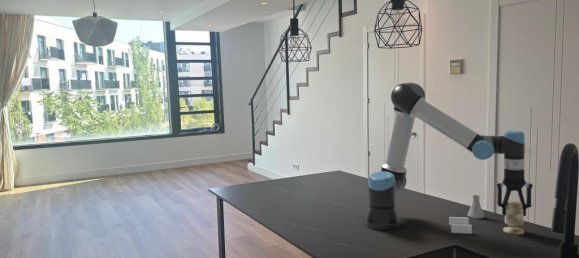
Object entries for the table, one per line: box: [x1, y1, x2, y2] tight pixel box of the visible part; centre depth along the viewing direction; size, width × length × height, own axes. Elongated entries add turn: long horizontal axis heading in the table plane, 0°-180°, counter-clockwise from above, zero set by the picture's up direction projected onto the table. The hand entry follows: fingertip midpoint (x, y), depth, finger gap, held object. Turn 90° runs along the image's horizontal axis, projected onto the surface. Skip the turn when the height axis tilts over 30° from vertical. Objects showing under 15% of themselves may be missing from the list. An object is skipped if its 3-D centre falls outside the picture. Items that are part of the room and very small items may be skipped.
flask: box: [467, 194, 486, 219], centre depth 204 cm, size 7×7×10 cm
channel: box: [448, 216, 473, 235], centre depth 189 cm, size 8×11×4 cm
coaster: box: [502, 226, 525, 236], centre depth 183 cm, size 8×8×1 cm
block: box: [506, 200, 523, 227], centre depth 182 cm, size 5×5×9 cm
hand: (513, 223), depth 183 cm, fingers closed on block, 5 cm apart
